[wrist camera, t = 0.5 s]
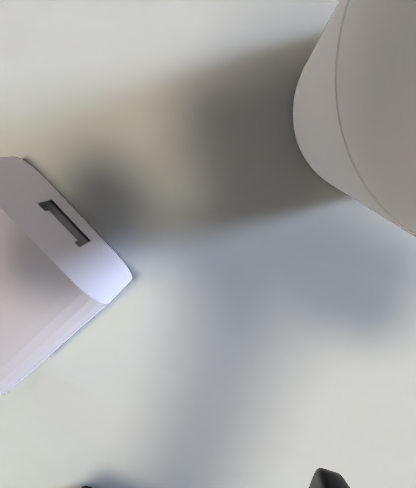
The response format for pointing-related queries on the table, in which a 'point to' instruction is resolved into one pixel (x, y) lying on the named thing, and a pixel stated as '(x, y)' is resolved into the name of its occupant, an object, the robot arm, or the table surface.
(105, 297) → the charger
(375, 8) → the pill bottle
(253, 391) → the table surface
